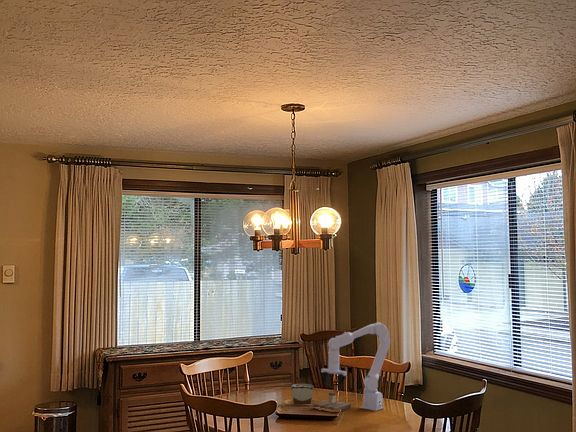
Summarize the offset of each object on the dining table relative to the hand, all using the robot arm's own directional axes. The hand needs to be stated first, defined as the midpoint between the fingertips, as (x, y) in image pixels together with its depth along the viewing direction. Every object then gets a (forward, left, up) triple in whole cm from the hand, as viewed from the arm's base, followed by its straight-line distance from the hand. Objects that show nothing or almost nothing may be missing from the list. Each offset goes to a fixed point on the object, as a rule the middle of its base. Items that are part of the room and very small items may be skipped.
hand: (333, 388), depth 312 cm
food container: (+17, +4, -10) cm, 20 cm away
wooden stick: (-1, +3, -10) cm, 10 cm away
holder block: (-1, +3, -10) cm, 10 cm away
